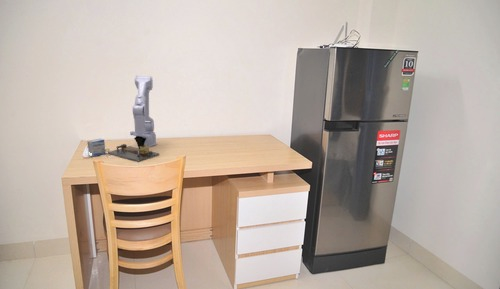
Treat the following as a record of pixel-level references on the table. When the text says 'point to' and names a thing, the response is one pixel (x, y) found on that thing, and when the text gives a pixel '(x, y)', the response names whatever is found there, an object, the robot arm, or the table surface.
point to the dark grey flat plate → (132, 154)
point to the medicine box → (96, 147)
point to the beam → (124, 147)
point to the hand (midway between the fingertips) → (141, 148)
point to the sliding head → (143, 149)
